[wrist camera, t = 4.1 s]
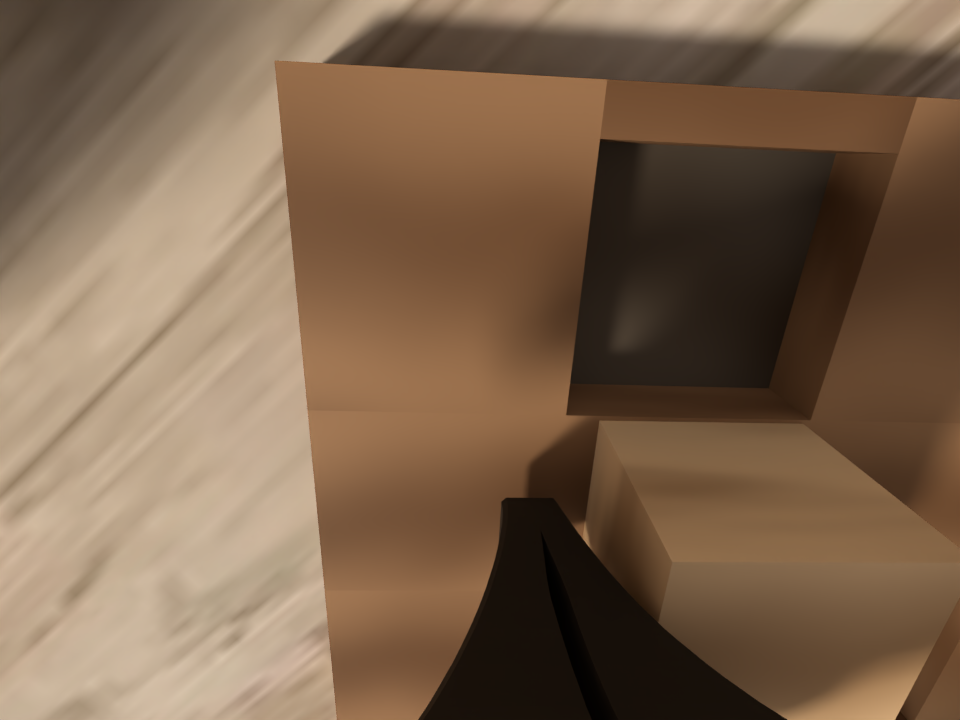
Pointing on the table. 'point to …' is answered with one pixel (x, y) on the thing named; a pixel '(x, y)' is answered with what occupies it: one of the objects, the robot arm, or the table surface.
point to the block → (773, 561)
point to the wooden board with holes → (597, 315)
